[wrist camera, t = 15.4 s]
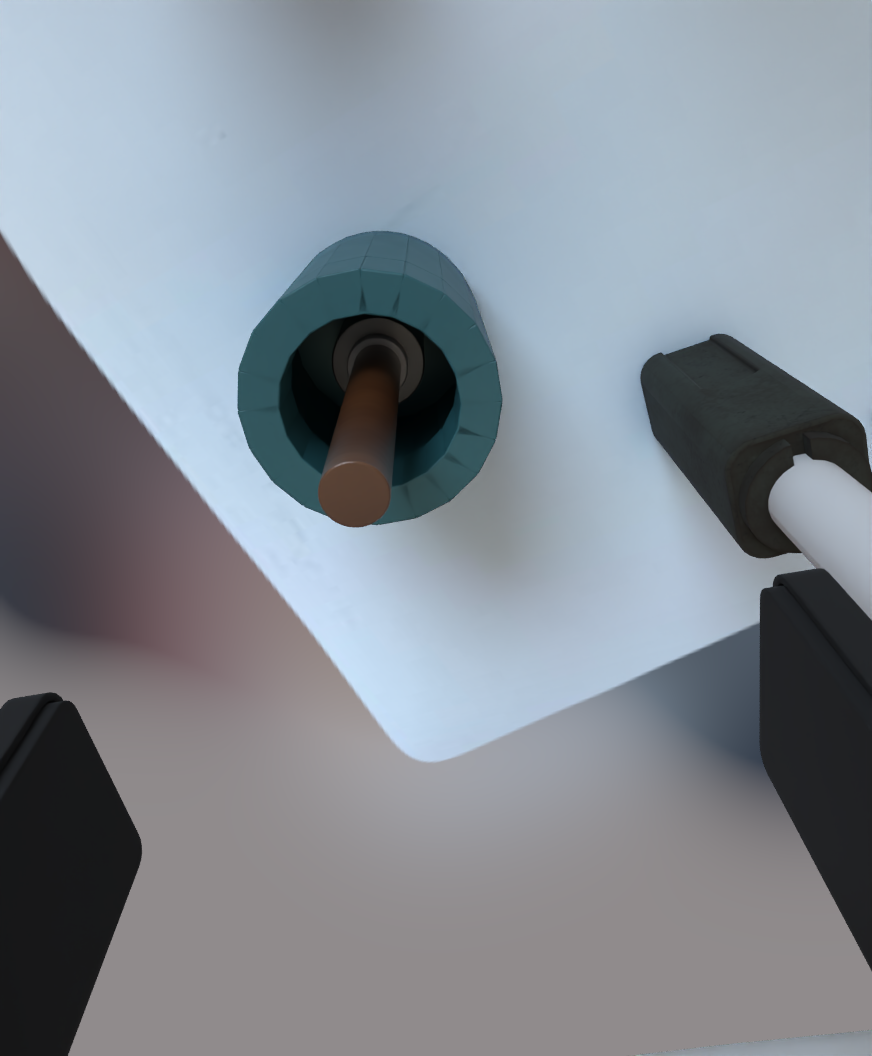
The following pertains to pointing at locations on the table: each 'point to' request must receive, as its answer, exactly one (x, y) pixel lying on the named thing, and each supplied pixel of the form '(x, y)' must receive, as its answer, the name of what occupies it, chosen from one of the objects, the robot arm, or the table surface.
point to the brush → (368, 415)
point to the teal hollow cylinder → (315, 397)
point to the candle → (767, 457)
